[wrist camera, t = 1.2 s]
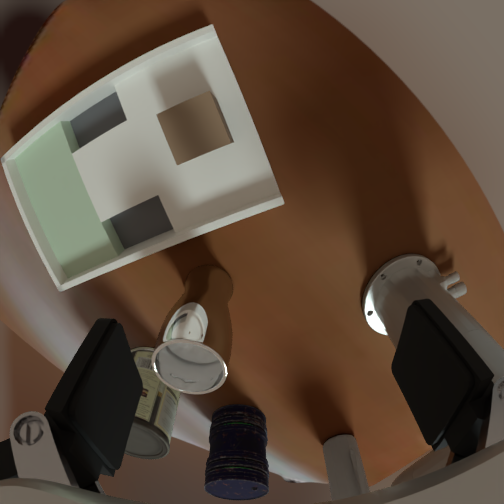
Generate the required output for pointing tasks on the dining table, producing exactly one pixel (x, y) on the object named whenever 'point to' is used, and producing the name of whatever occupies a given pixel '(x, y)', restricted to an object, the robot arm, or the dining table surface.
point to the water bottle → (344, 467)
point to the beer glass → (197, 334)
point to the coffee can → (152, 412)
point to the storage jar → (237, 454)
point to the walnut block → (195, 127)
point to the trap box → (136, 165)
